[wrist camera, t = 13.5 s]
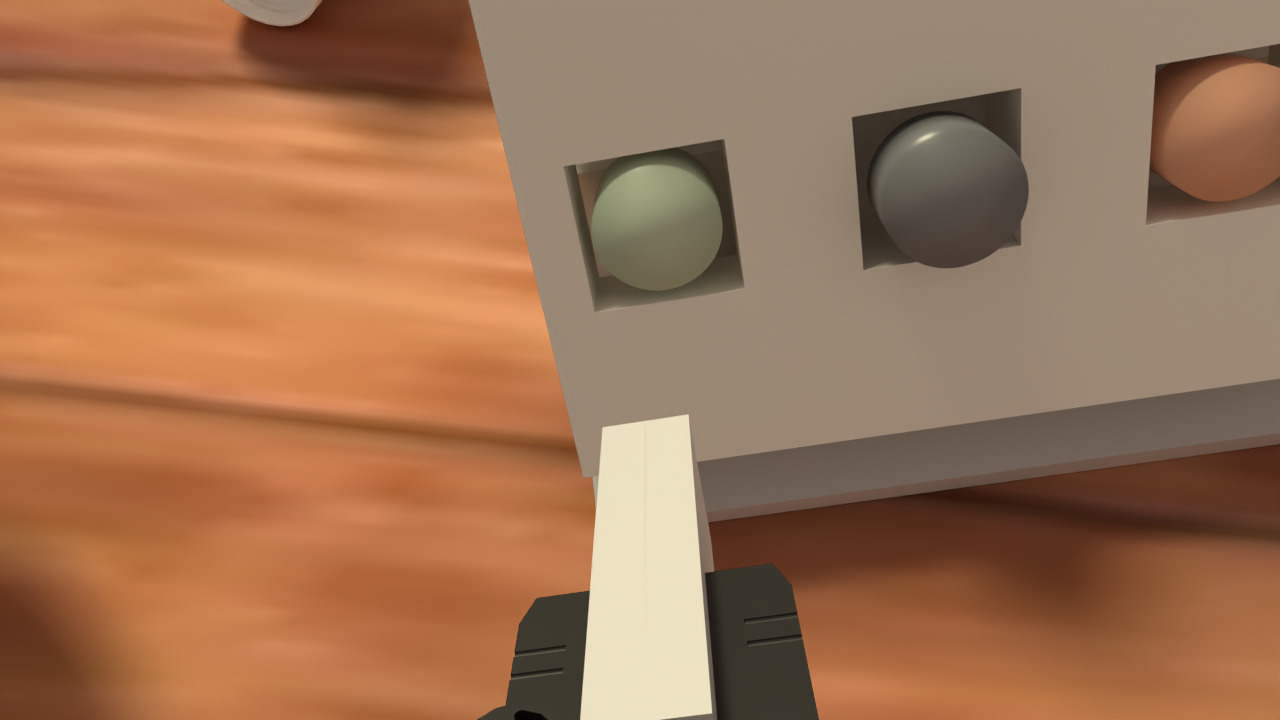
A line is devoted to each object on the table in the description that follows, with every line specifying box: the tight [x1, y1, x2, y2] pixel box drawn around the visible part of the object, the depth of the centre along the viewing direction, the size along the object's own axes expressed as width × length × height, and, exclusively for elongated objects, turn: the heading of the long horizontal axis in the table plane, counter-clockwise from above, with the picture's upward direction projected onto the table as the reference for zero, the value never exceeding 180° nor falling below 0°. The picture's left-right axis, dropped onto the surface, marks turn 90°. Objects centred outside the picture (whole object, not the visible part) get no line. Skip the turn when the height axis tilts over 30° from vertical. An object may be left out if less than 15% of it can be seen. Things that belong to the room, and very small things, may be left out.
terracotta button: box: [1149, 52, 1280, 202], centre depth 29 cm, size 4×4×4 cm
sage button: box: [591, 147, 723, 291], centre depth 31 cm, size 4×4×4 cm
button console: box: [468, 0, 1280, 522], centre depth 31 cm, size 25×17×17 cm
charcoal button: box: [867, 111, 1029, 268], centre depth 28 cm, size 4×4×4 cm
